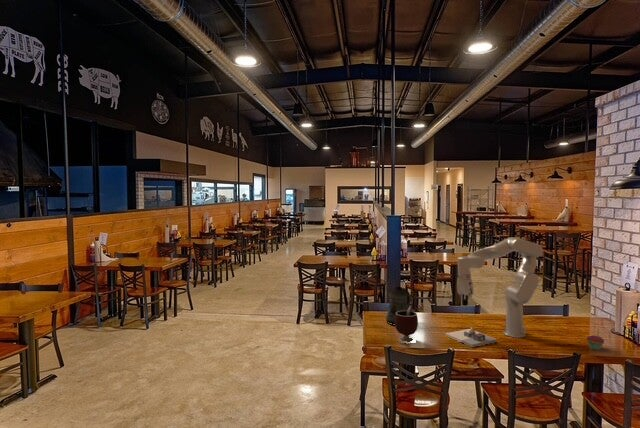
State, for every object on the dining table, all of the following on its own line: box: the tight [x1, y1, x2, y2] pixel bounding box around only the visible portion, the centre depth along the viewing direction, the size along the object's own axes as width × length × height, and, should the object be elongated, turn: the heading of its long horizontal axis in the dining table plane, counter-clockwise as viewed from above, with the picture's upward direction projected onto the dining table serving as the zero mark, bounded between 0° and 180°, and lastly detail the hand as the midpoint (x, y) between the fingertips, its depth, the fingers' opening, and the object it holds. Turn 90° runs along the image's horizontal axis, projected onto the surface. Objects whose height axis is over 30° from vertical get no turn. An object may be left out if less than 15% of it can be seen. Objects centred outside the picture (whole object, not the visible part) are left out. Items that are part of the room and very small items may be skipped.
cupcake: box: [586, 327, 605, 351], centre depth 231 cm, size 9×8×12 cm
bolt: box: [470, 326, 483, 340], centre depth 245 cm, size 10×2×6 cm, turn 24°
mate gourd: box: [394, 305, 419, 342], centre depth 249 cm, size 16×14×20 cm
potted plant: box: [385, 286, 412, 324], centre depth 286 cm, size 16×19×25 cm
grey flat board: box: [445, 328, 498, 348], centre depth 249 cm, size 22×20×5 cm
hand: (465, 305), depth 253 cm, fingers closed
